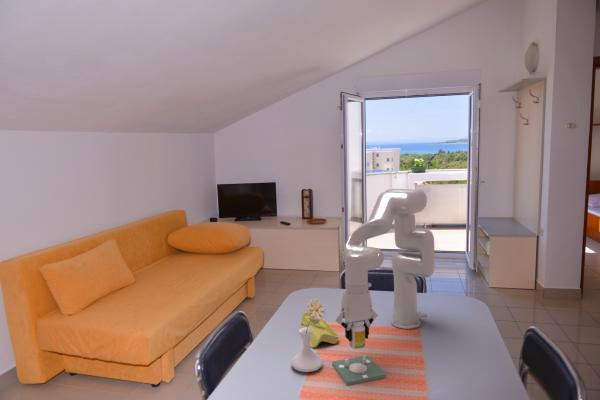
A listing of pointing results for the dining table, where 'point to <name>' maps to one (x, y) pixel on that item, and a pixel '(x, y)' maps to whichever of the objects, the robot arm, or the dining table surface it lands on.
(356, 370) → the board
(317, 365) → the flower in vase
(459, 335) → the dining table surface
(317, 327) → the plastic component
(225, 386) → the dining table surface
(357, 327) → the supplement bottle
